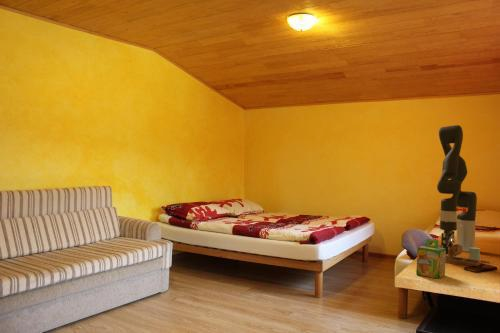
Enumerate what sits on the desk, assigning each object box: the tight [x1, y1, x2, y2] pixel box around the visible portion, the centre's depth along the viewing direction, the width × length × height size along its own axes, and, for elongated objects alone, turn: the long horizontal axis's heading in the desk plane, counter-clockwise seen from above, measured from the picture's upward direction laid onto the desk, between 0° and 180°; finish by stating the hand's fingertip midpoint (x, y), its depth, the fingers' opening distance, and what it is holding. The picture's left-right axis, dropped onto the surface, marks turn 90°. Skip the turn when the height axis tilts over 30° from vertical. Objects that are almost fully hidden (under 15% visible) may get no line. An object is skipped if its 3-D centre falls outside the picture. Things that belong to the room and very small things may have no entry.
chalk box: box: [416, 238, 446, 280], centre depth 176 cm, size 9×9×15 cm
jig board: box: [445, 254, 483, 267], centre depth 206 cm, size 12×22×2 cm, turn 51°
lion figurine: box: [438, 243, 464, 259], centre depth 209 cm, size 15×5×9 cm, turn 41°
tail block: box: [468, 247, 481, 260], centre depth 211 cm, size 4×4×6 cm
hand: (447, 253), depth 208 cm, fingers open, 8 cm apart
